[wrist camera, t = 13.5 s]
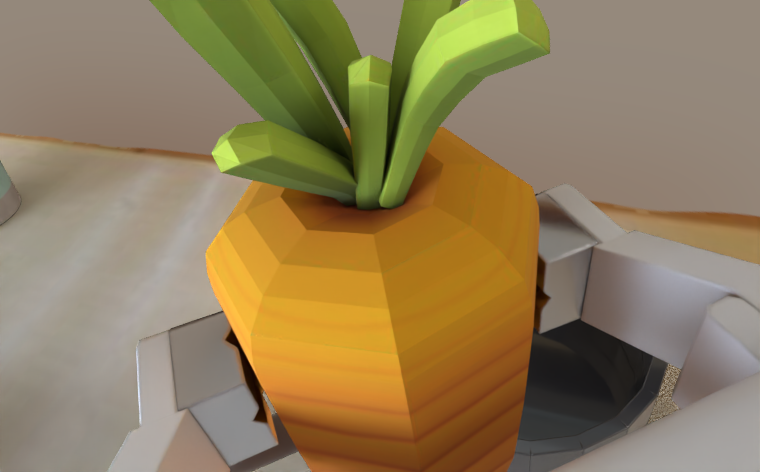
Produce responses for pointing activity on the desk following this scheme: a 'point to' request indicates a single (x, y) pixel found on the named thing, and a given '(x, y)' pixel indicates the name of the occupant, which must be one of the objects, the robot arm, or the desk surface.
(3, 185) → the coffee cup
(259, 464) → the pan handle
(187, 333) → the robot arm
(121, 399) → the desk surface
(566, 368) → the pan
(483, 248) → the carrot
